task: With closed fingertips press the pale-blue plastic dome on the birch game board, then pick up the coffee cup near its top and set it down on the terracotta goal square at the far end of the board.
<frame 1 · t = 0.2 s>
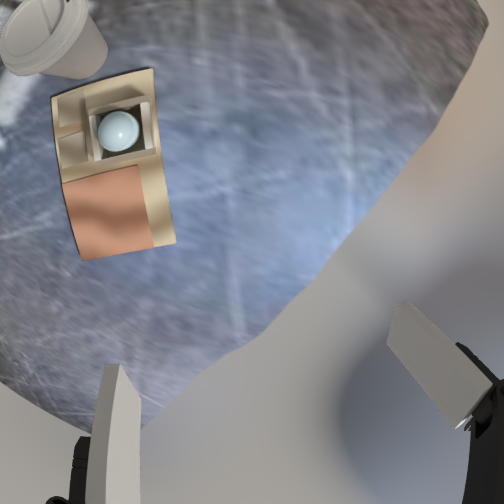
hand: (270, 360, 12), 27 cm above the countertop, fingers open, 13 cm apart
coffee cup: (85, 57, 24), on the countertop
board: (109, 167, 31), on the countertop
dome: (117, 131, 26), point 5 cm above the countertop, slide at -0.1 cm
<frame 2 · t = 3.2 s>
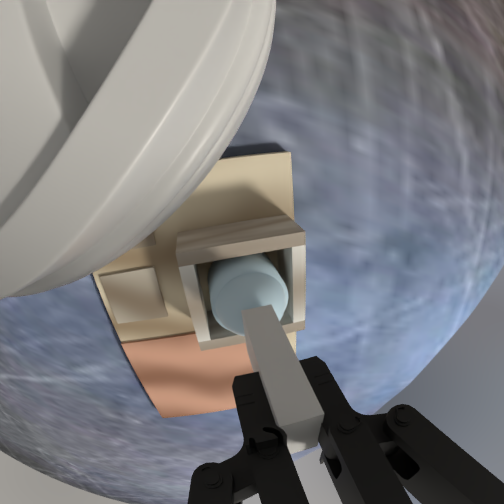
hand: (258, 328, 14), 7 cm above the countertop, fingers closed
coffee cup: (134, 101, 14), on the countertop
board: (205, 318, 21), on the countertop
dome: (248, 297, 16), point 4 cm above the countertop, slide at -0.9 cm, touching gripper
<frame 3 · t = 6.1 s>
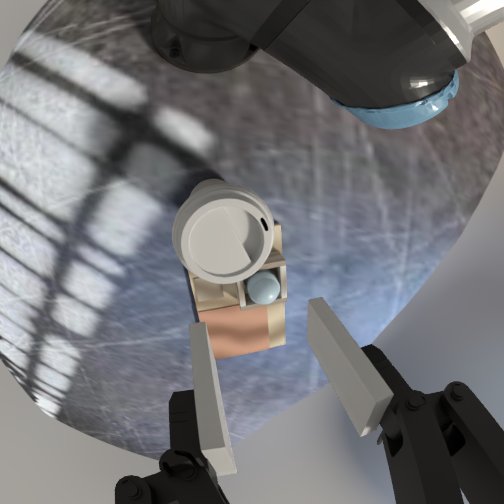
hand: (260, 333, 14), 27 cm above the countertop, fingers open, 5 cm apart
coffee cup: (212, 201, 38), on the countertop
board: (240, 298, 44), on the countertop
dome: (263, 288, 39), point 5 cm above the countertop, slide at -0.4 cm
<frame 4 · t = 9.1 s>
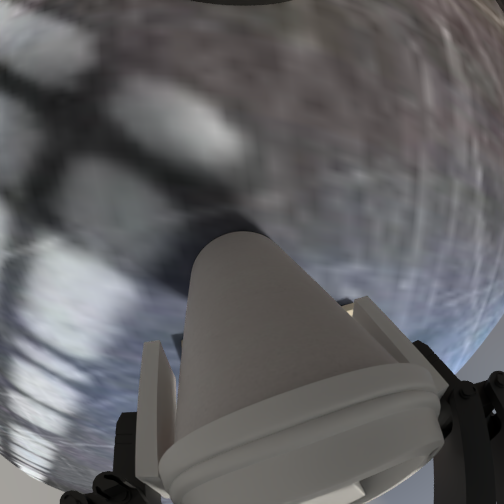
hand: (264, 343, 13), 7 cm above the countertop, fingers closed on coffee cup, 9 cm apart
coffee cup: (239, 275, 19), on the countertop, touching gripper
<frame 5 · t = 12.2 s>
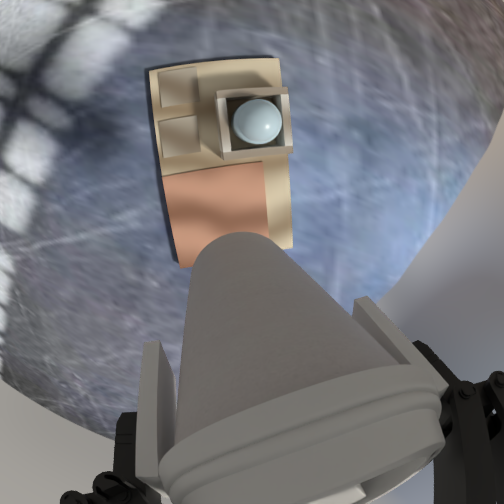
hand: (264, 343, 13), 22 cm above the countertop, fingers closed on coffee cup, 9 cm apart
coffee cup: (239, 276, 19), point 15 cm above the countertop, touching gripper
board: (225, 161, 30), on the countertop
dome: (257, 121, 25), point 5 cm above the countertop, slide at -0.4 cm
when the fingers open (8 cm above the countertop, at t = 15.2 s): coffee cup stays where it is, resting on board.
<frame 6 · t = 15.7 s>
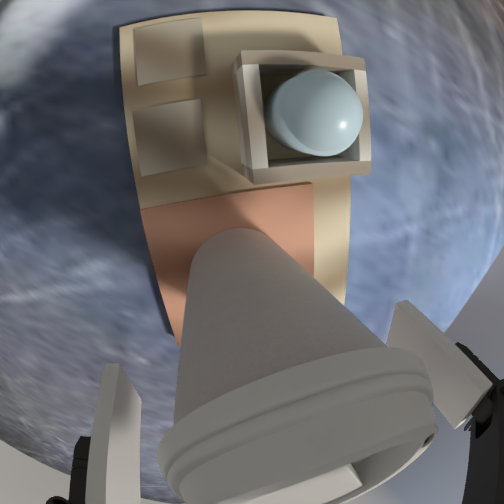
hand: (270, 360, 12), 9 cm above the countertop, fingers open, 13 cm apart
coffee cup: (237, 271, 19), point 1 cm above the countertop, touching board
board: (248, 180, 18), on the countertop
dome: (318, 112, 12), point 5 cm above the countertop, slide at -0.4 cm
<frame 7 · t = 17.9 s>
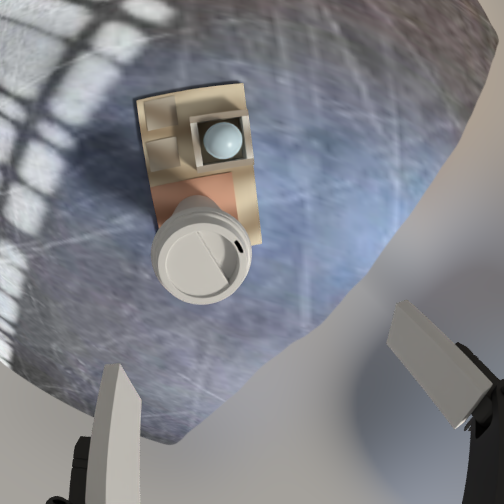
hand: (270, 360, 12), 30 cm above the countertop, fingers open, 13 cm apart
coffee cup: (197, 217, 38), point 1 cm above the countertop, touching board
board: (201, 172, 36), on the countertop
dome: (222, 140, 31), point 5 cm above the countertop, slide at -0.4 cm
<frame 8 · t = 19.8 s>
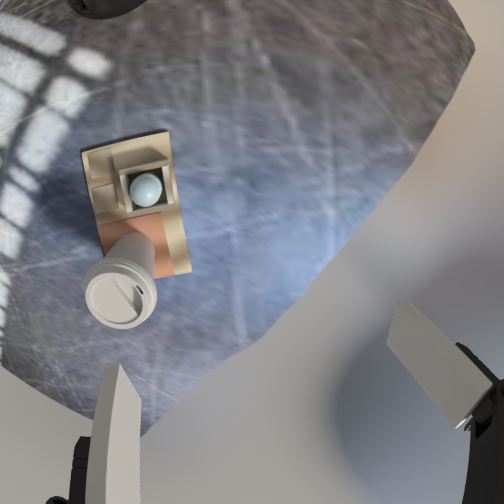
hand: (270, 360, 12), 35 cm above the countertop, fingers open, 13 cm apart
coffee cup: (135, 250, 43), point 1 cm above the countertop, touching board
board: (136, 212, 41), on the countertop
dome: (145, 190, 36), point 5 cm above the countertop, slide at -0.4 cm
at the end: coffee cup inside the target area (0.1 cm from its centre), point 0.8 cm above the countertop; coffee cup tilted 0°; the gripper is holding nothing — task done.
